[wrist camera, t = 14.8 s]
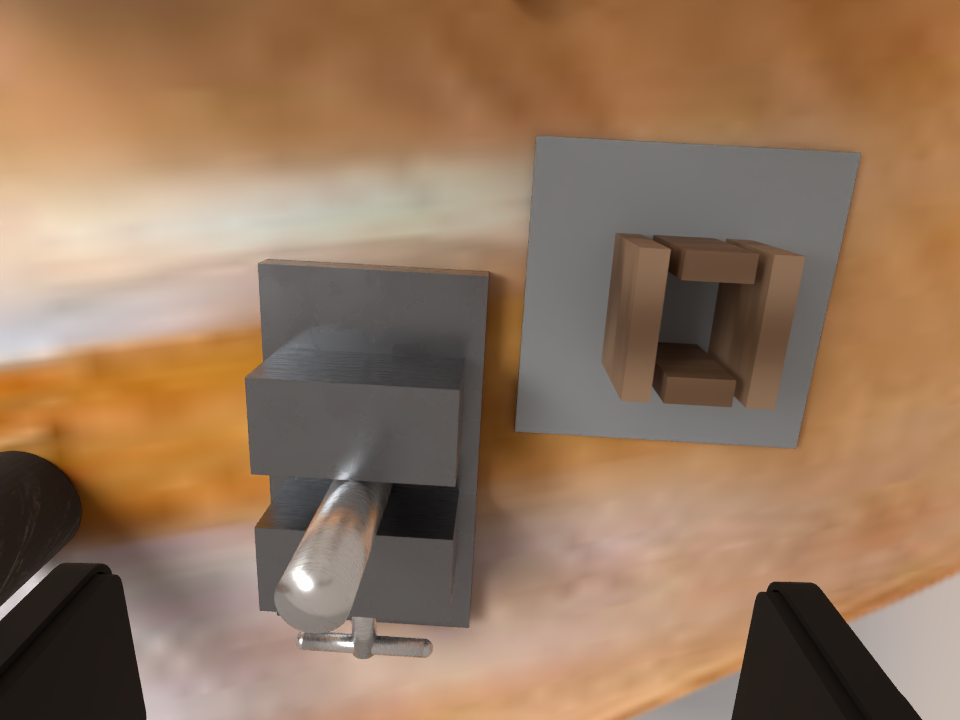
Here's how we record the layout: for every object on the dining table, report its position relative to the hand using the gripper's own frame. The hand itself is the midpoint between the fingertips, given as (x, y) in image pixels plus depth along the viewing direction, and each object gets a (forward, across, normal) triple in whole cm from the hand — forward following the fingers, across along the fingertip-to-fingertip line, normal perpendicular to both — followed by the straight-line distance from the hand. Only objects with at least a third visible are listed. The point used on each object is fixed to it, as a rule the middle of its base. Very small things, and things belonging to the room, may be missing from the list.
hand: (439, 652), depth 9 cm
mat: (+26, -11, 0) cm, 28 cm away
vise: (+26, +5, +10) cm, 28 cm away
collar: (+25, -11, 0) cm, 28 cm away
